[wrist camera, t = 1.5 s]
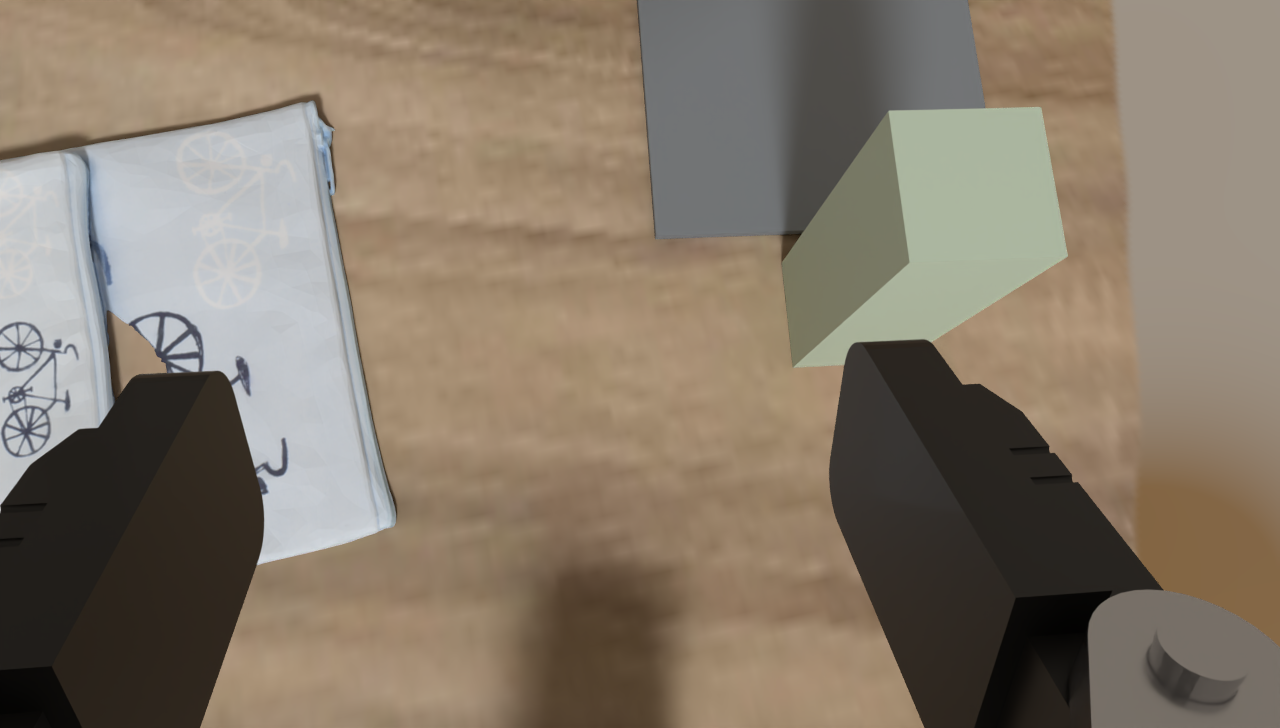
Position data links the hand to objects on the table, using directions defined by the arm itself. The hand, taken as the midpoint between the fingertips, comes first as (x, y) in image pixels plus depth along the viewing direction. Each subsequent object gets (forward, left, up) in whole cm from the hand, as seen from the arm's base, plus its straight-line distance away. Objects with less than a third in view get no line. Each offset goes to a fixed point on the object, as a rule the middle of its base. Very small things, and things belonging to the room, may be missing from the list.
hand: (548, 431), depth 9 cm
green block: (-8, +12, -26) cm, 30 cm away
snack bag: (-7, -17, -27) cm, 33 cm away
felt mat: (-19, +12, -26) cm, 35 cm away
